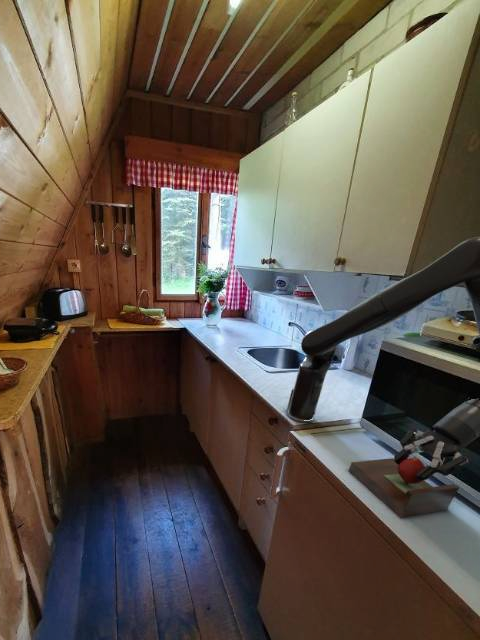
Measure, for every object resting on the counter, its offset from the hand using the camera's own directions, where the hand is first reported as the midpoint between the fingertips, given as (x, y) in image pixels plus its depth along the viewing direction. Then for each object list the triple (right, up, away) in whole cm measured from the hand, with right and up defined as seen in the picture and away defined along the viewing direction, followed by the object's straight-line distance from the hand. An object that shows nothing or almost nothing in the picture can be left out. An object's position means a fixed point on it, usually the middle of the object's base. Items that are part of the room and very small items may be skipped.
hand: (406, 469), depth 76 cm
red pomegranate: (+1, -4, +2) cm, 5 cm away
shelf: (0, -6, +4) cm, 8 cm away
